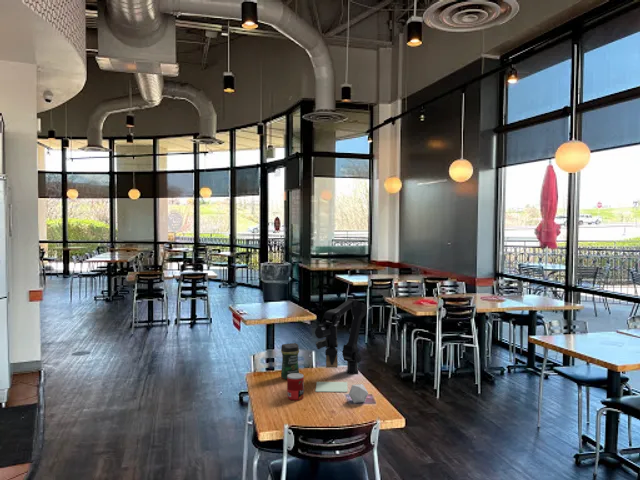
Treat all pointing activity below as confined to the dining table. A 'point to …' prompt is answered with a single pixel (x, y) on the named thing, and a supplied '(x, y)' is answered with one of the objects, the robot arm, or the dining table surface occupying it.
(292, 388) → the canned food
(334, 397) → the dining table surface
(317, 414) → the dining table surface
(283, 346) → the coffee jar
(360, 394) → the die
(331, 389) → the mat
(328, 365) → the walnut slab
